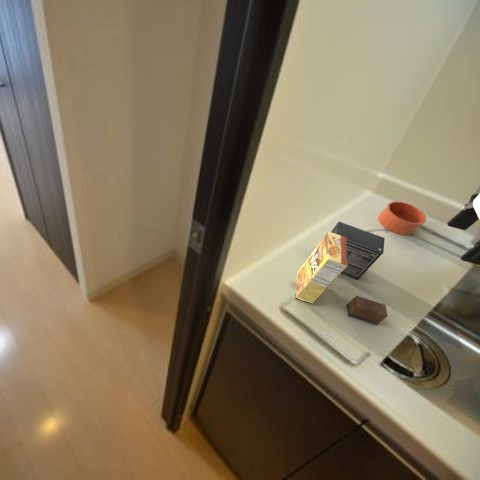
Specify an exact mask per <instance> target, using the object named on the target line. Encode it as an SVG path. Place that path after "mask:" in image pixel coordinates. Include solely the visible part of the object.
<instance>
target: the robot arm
mask: <svg viewBox="0 0 480 480" xmlns="http://www.w3.org/2000/svg"><path fill="white" fill-rule="evenodd" d="M462 208H463V209H461V210H459V212H458V213H457V214H456V215H454V216H453V217H452V218H451V219H450V220H449V221H448V222H447V223H446V224H447V227H451V228H454V229H458V230H461V231H466V230H467V229H469V228H470V227H471V226H473V225H474V224H475V223H476V222H477V221H478V220H479V221H480V185H479V186H478V187H477V189H476V191H475V193H473V194H472V195H470V199H469V201H468V202H467V203H465V204H464V205H463V207H462ZM460 261H464V262H467V263H470V264H474V265H477V266H480V243H477V244H475V245H474V246H473V247H471V248H470V249H469V250H468V251H466V252H464V253H463V254H462V255H461V256H460Z"/></svg>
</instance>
